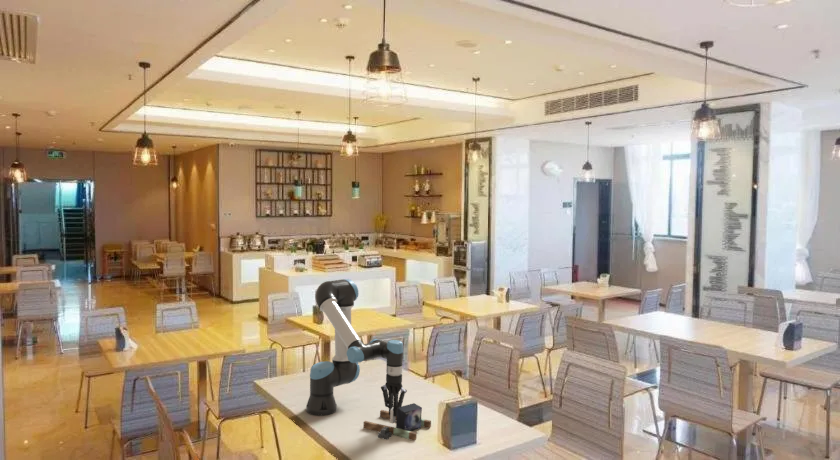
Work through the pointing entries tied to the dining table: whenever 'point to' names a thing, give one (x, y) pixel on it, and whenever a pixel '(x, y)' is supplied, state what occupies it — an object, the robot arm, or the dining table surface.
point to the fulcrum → (385, 433)
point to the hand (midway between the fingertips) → (392, 422)
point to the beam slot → (395, 430)
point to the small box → (409, 417)
